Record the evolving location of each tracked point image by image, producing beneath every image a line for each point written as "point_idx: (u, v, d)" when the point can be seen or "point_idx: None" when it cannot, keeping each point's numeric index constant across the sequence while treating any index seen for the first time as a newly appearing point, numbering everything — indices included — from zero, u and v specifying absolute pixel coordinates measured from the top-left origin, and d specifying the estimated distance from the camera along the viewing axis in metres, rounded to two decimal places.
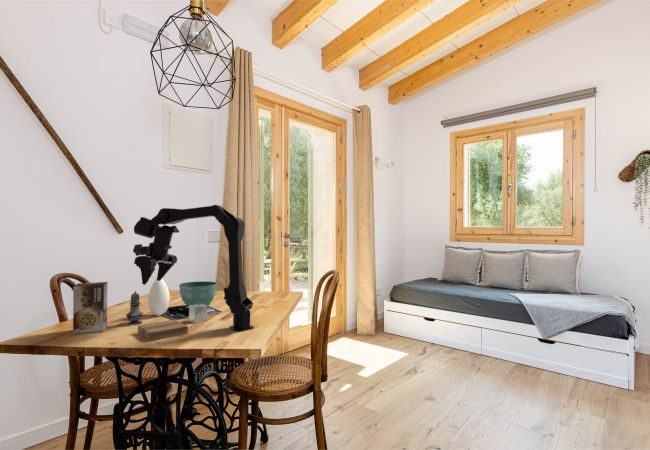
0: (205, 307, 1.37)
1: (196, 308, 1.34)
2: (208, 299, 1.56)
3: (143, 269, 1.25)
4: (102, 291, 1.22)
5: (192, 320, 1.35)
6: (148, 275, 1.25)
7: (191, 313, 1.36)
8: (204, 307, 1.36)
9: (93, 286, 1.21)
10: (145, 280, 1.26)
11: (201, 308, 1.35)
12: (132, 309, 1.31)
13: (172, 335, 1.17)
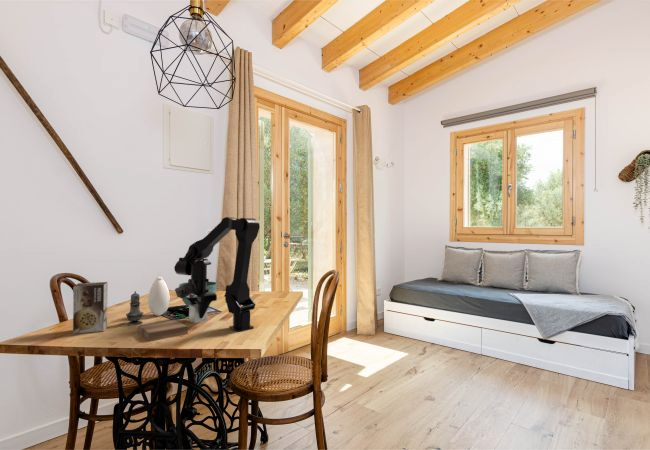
0: None
1: (196, 308, 1.34)
2: None
3: (201, 304, 1.34)
4: (102, 291, 1.22)
5: (192, 320, 1.35)
6: (206, 307, 1.35)
7: (191, 313, 1.36)
8: None
9: (93, 286, 1.21)
10: (203, 313, 1.35)
11: None
12: (133, 309, 1.31)
13: (172, 335, 1.17)
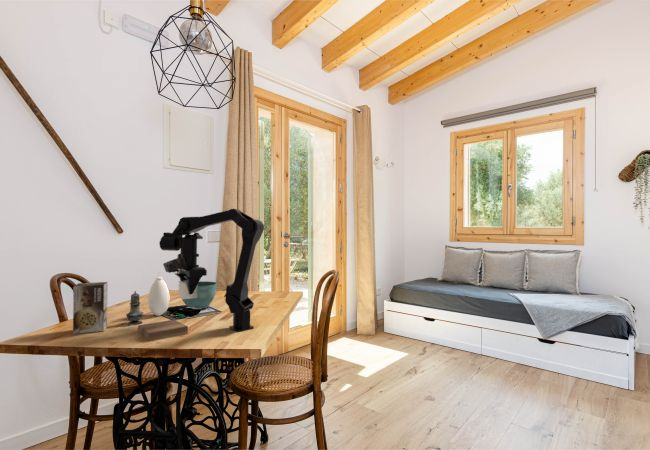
0: None
1: (185, 283, 1.29)
2: (208, 299, 1.56)
3: (190, 279, 1.28)
4: (102, 291, 1.22)
5: (181, 296, 1.30)
6: (196, 283, 1.30)
7: (180, 289, 1.30)
8: None
9: (93, 286, 1.21)
10: (193, 289, 1.30)
11: None
12: (132, 309, 1.31)
13: (172, 335, 1.17)
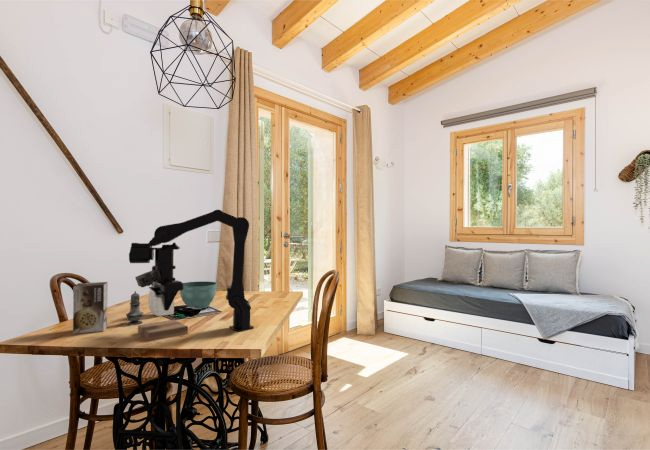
0: None
1: (160, 299, 1.17)
2: (208, 299, 1.56)
3: (166, 294, 1.17)
4: (102, 291, 1.22)
5: (156, 312, 1.18)
6: (172, 298, 1.19)
7: (155, 304, 1.19)
8: None
9: (93, 286, 1.21)
10: (169, 305, 1.18)
11: None
12: (133, 309, 1.31)
13: (172, 335, 1.17)
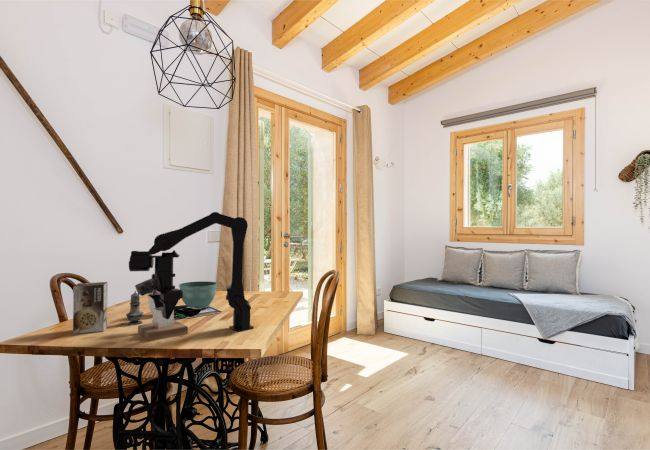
0: None
1: (160, 311, 1.17)
2: (208, 299, 1.56)
3: (167, 303, 1.16)
4: (102, 291, 1.22)
5: (156, 325, 1.18)
6: (173, 307, 1.18)
7: (155, 317, 1.19)
8: None
9: (93, 286, 1.21)
10: (170, 314, 1.18)
11: None
12: (132, 309, 1.31)
13: (172, 335, 1.17)
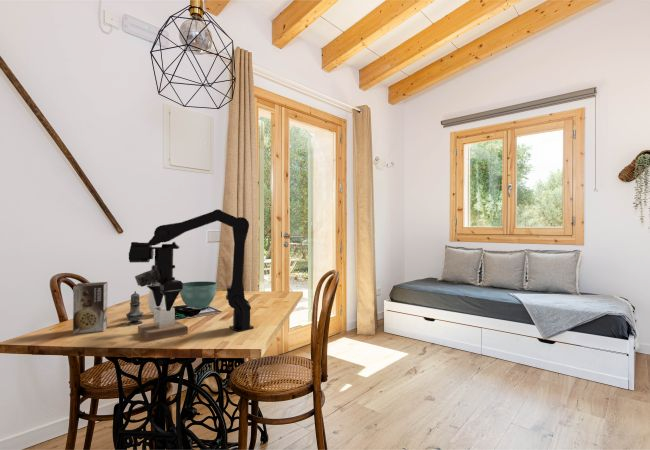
0: (172, 310, 1.20)
1: (161, 311, 1.18)
2: (208, 299, 1.56)
3: (167, 295, 1.16)
4: (102, 291, 1.22)
5: (157, 325, 1.18)
6: (174, 298, 1.17)
7: (156, 317, 1.19)
8: (171, 310, 1.20)
9: (93, 286, 1.21)
10: (170, 305, 1.17)
11: (167, 311, 1.19)
12: (132, 309, 1.31)
13: (172, 335, 1.17)
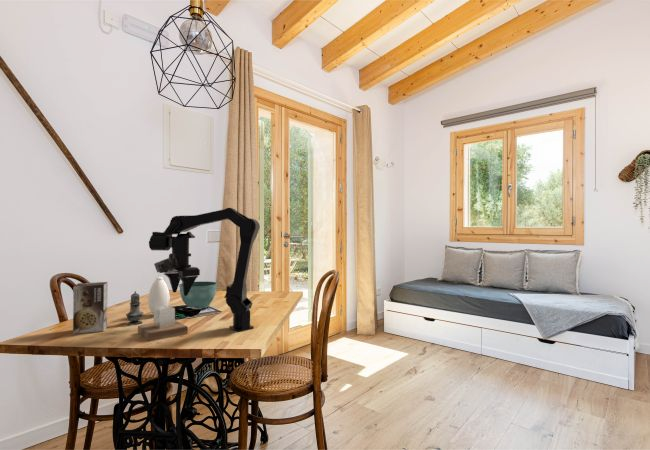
0: (172, 310, 1.20)
1: (161, 311, 1.18)
2: (208, 299, 1.56)
3: (185, 280, 1.24)
4: (102, 291, 1.22)
5: (157, 325, 1.18)
6: (191, 284, 1.26)
7: (156, 317, 1.19)
8: (171, 310, 1.20)
9: (93, 286, 1.21)
10: (188, 290, 1.25)
11: (167, 311, 1.19)
12: (133, 309, 1.31)
13: (172, 335, 1.17)
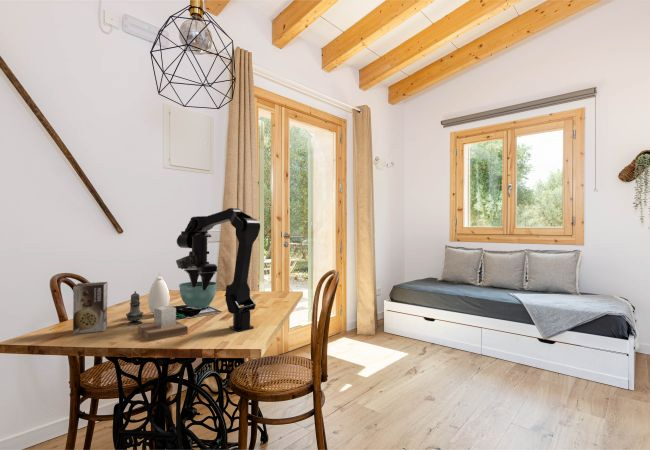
0: (173, 310, 1.21)
1: (163, 311, 1.18)
2: (208, 299, 1.56)
3: (204, 276, 1.35)
4: (102, 291, 1.22)
5: (158, 325, 1.18)
6: (209, 280, 1.36)
7: (157, 317, 1.19)
8: (172, 310, 1.20)
9: (93, 286, 1.21)
10: (206, 285, 1.36)
11: (169, 311, 1.19)
12: (133, 309, 1.31)
13: (172, 335, 1.17)
